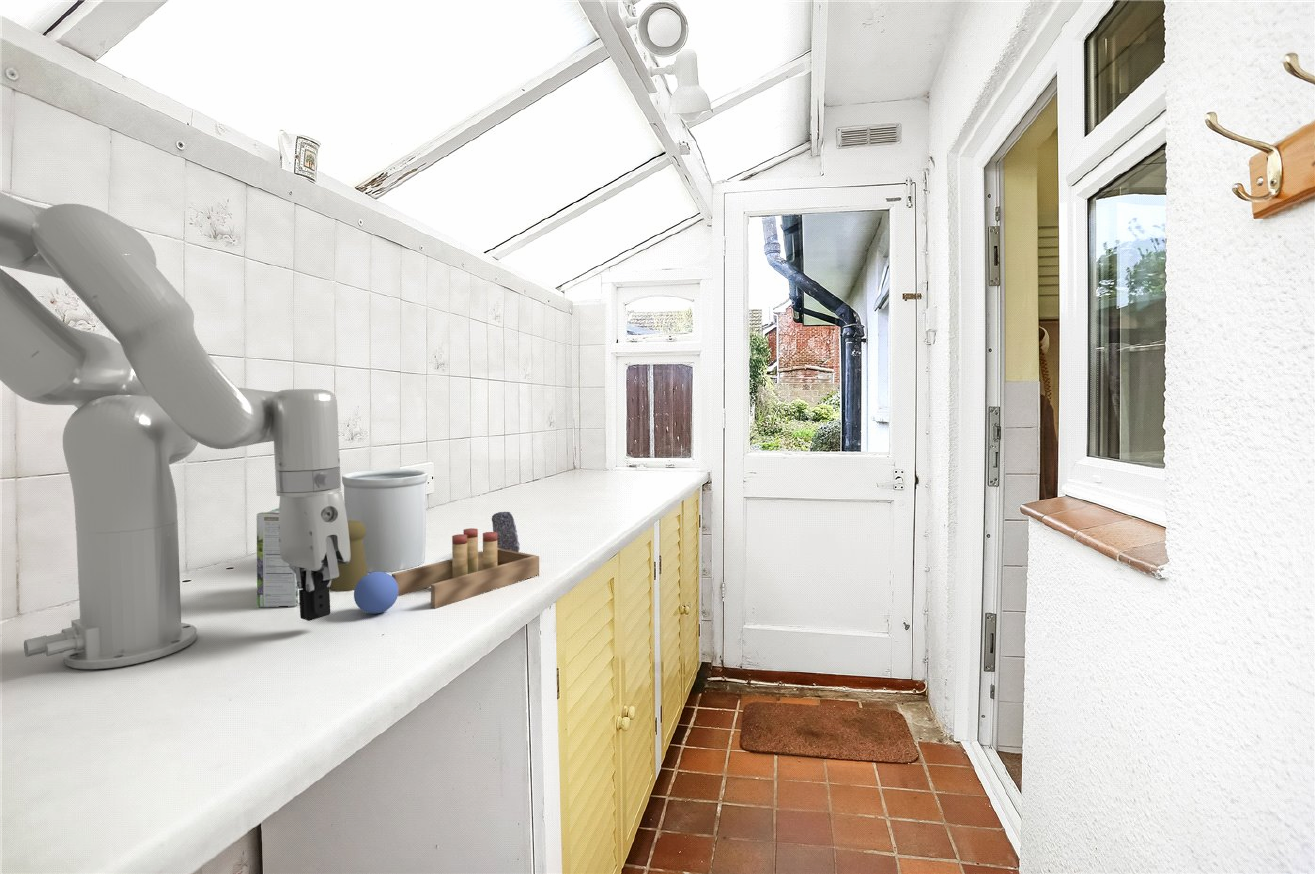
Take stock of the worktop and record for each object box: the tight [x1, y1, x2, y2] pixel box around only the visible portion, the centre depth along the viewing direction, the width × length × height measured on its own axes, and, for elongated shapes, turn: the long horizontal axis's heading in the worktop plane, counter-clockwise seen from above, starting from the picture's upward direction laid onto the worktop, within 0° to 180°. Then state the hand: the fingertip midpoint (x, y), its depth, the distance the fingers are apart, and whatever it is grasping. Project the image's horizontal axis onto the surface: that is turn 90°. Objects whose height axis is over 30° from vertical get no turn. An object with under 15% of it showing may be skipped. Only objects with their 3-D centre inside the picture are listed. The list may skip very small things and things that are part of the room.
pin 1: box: [462, 527, 479, 574], centre depth 108 cm, size 2×2×9 cm
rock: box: [491, 511, 521, 552], centre depth 123 cm, size 12×5×10 cm, turn 20°
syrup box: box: [256, 506, 301, 608], centre depth 95 cm, size 6×6×14 cm
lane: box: [391, 548, 540, 609], centre depth 105 cm, size 22×11×4 cm, turn 146°
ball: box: [353, 572, 399, 615], centre depth 91 cm, size 6×6×6 cm
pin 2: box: [482, 531, 497, 570], centre depth 105 cm, size 2×2×9 cm
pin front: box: [451, 533, 468, 578], centre depth 103 cm, size 2×2×9 cm
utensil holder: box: [341, 468, 428, 574], centre depth 118 cm, size 15×15×18 cm
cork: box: [329, 521, 369, 592], centre depth 103 cm, size 6×6×11 cm
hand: (315, 616), depth 83 cm, fingers closed
